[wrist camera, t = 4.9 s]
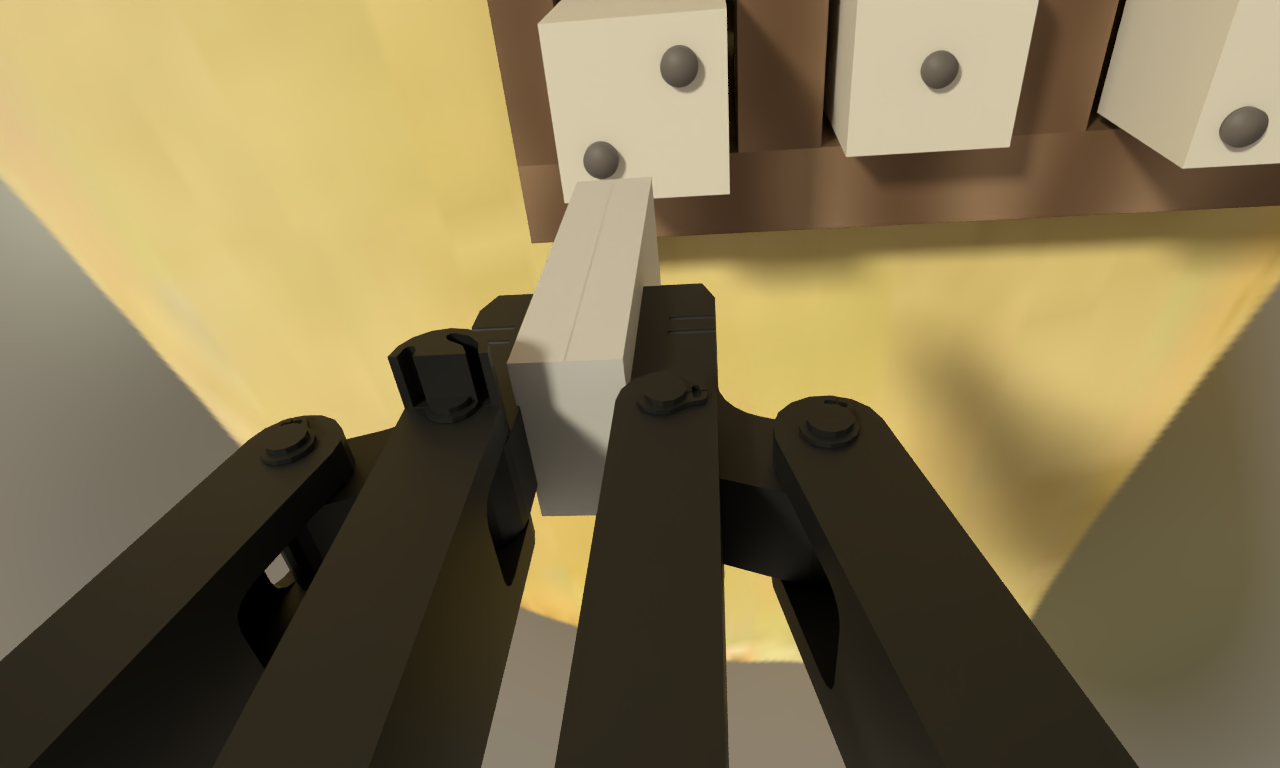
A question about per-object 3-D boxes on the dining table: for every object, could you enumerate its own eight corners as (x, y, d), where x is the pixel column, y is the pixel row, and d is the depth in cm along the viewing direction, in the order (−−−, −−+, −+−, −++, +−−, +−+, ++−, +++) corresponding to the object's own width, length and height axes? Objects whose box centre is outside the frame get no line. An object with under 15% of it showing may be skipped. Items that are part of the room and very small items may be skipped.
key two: (588, 149, 29) (563, 211, 24) (568, -8, 26) (535, 25, 21) (725, 140, 29) (729, 202, 24) (722, -21, 26) (726, 10, 21)
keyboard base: (547, 206, 35) (531, 243, 31) (492, -132, 27) (463, -130, 24) (1244, 167, 31) (1306, 204, 28) (1397, -228, 24) (1506, -242, 21)
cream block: (823, 112, 31) (847, 164, 26) (831, -42, 27) (860, -17, 22) (959, 103, 30) (1011, 154, 25) (984, -55, 27) (1049, -34, 22)
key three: (1096, 116, 27) (1185, 177, 22) (1141, -58, 24) (1258, -34, 19) (1254, 106, 27) (1384, 166, 22) (1323, -74, 24) (1493, -54, 18)
